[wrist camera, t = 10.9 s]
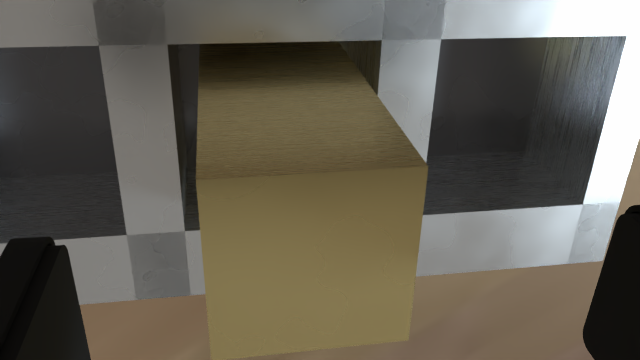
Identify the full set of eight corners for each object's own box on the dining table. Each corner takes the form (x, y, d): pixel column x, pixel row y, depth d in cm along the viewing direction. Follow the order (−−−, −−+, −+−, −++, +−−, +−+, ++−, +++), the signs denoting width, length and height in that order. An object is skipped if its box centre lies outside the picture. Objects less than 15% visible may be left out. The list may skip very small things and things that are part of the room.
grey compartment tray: (-149, -80, 16) (-260, -60, 12) (598, -71, 20) (695, -53, 16) (-52, 233, 21) (-110, 320, 17) (538, 196, 24) (602, 260, 21)
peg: (199, 29, 19) (195, 180, 10) (327, 26, 19) (428, 166, 11) (208, 147, 21) (211, 360, 12) (324, 141, 21) (408, 340, 12)
